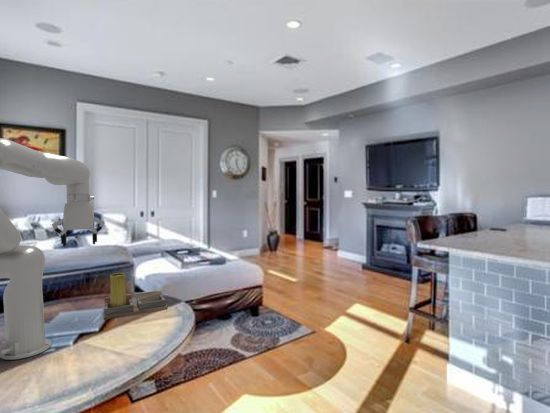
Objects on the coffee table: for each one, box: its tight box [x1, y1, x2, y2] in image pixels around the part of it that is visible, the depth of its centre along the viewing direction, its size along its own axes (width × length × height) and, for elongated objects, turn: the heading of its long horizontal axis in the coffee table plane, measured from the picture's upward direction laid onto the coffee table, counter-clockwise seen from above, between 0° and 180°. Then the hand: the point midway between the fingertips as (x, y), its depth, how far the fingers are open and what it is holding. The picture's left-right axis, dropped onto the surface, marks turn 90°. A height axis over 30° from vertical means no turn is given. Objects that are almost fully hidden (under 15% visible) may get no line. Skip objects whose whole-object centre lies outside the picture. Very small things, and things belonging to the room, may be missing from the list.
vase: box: [109, 272, 127, 308], centre depth 138 cm, size 6×6×14 cm
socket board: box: [102, 289, 168, 320], centre depth 141 cm, size 12×23×6 cm, turn 117°
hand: (79, 245), depth 132 cm, fingers open, 9 cm apart
